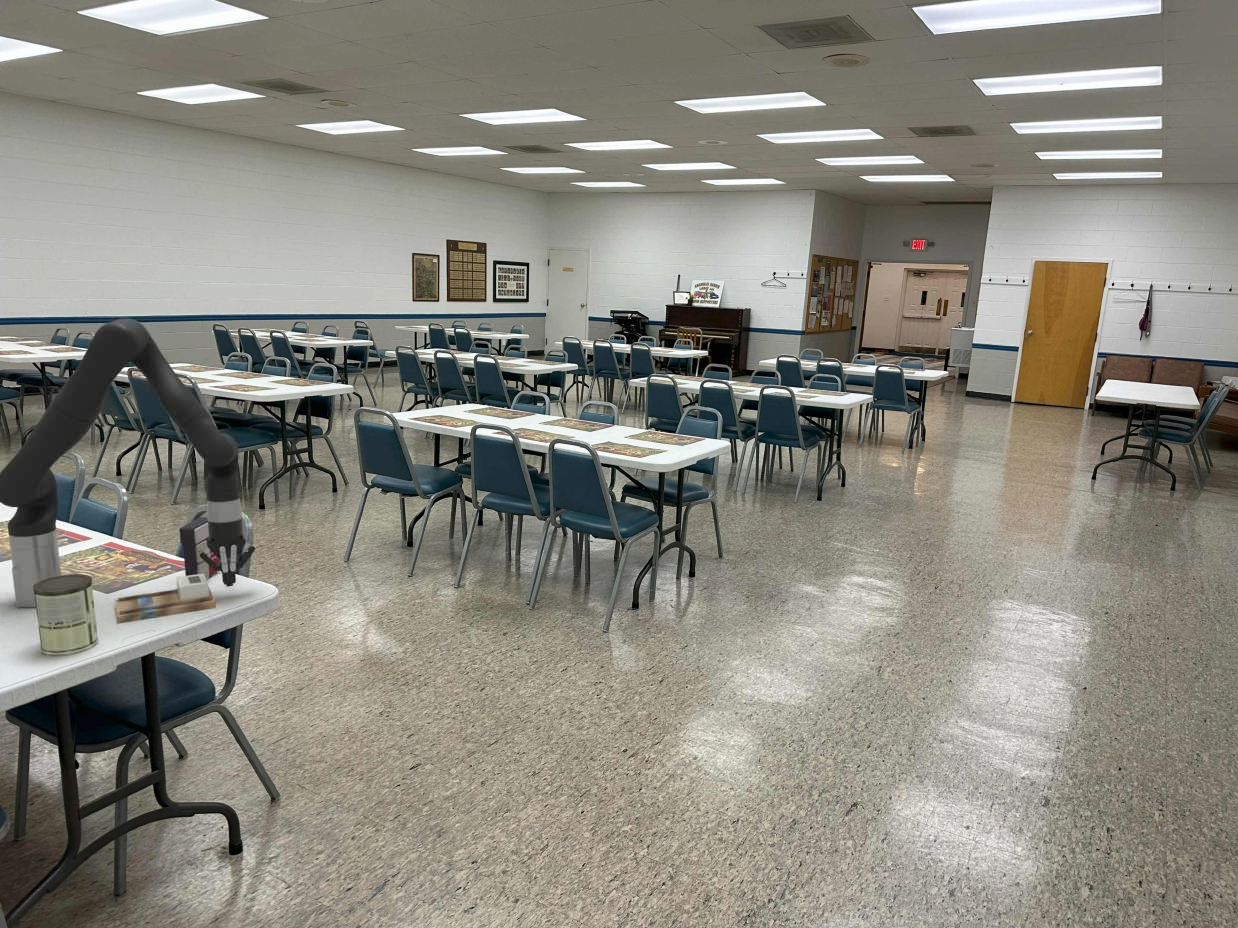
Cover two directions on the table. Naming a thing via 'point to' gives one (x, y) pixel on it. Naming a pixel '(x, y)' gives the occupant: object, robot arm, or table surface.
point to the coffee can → (66, 614)
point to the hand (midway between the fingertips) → (229, 585)
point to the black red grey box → (196, 547)
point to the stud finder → (192, 587)
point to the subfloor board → (158, 605)
